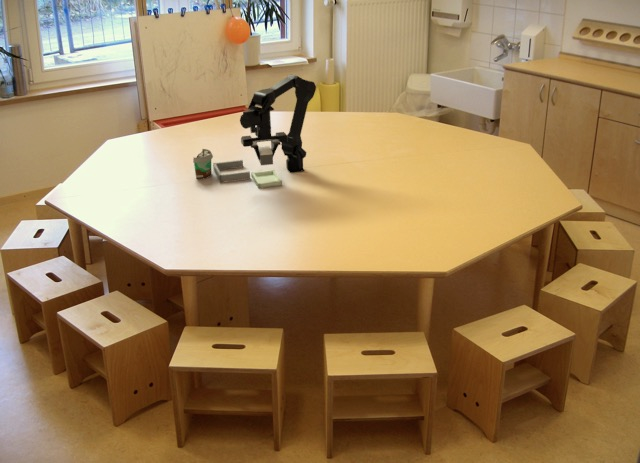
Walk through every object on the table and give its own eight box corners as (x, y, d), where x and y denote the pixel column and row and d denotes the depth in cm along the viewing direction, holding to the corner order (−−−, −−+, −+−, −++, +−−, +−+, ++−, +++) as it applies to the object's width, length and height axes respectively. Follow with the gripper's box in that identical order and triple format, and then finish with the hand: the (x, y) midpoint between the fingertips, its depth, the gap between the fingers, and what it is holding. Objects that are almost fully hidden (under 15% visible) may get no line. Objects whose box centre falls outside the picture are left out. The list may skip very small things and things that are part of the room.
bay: (242, 166, 338) (242, 159, 337) (250, 178, 324) (249, 172, 323) (213, 169, 335) (213, 163, 333) (219, 182, 321) (219, 175, 320)
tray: (274, 174, 329) (274, 169, 328) (282, 185, 316) (282, 181, 316) (251, 176, 326) (251, 172, 325) (258, 188, 314) (258, 184, 313)
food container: (208, 181, 322) (206, 158, 318) (195, 180, 324) (192, 158, 319) (218, 170, 333) (216, 149, 329) (204, 170, 334) (202, 148, 330)
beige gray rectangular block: (269, 157, 322) (269, 145, 320) (273, 164, 314) (272, 152, 312) (258, 158, 321) (257, 146, 319) (261, 165, 313) (260, 153, 311)
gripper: (281, 115, 320) (282, 150, 326) (237, 119, 315) (239, 155, 322) (287, 122, 310) (289, 158, 317) (242, 127, 305) (244, 163, 312)
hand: (265, 158), depth 317 cm, fingers closed on beige gray rectangular block, 5 cm apart
